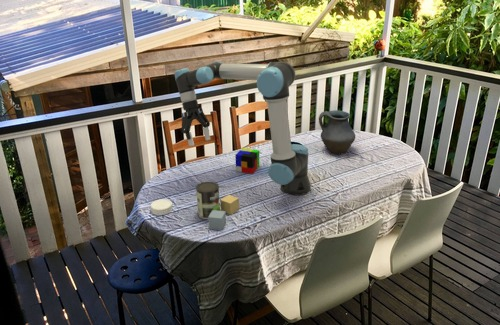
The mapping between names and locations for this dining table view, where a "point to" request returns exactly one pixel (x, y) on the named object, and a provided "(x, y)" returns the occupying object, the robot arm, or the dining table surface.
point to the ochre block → (229, 204)
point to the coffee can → (207, 198)
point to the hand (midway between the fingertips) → (200, 142)
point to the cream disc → (161, 207)
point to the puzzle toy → (247, 160)
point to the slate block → (217, 220)
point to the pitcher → (336, 131)
